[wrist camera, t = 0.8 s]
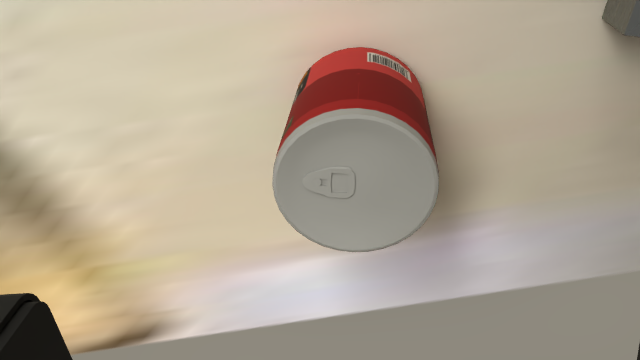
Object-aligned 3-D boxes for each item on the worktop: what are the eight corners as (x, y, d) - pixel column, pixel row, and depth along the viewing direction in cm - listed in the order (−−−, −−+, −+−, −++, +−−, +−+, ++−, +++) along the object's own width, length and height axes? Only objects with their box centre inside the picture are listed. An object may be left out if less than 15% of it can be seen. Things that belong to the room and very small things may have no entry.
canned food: (281, 59, 37) (249, 134, 28) (409, 28, 36) (423, 95, 26) (314, 167, 41) (296, 266, 31) (433, 142, 39) (452, 238, 30)
